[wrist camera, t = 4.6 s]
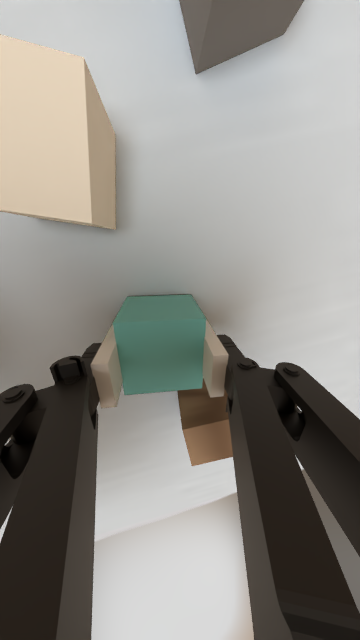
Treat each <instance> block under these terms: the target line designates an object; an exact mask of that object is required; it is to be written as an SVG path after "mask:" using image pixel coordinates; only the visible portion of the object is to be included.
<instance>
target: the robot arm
mask: <svg viewBox="0 0 360 640" xmlns="http://www.w3.org/2000/svg"><path fill="white" fill-rule="evenodd" d="M50 370H51V373H52V376H53V379H54V381H55V385H54V386H51V387H48V388H45V389H41V390H37V391H35V389H34V387H33V386H32V385H30V384H23V385H18V386H14V387H12V388H10V389H8V390H6V391H4V392H2V393H1V394H0V529H1V527H2V525H3V523H4V521H5V519H6V517H7V516H8V514H9V512H10V510H11V508H12V506H13V508H12V510H11V513H10V516H9V519H8V522H7V525H6V528H5V531H4V534H3V537H2V540H1V543H0V640H91V625H92V594H93V593H92V591H93V563H94V531H95V500H96V468H97V437H98V412H97V409H96V408H97V406H98V403H99V401H100V405H101V408H109V407H116V406H117V402H118V398H119V394H120V390H121V386H122V382H123V380H122V374H121V368H120V362H119V356H118V350H117V345H116V340H115V334H114V328H113V324H112V326H111V327H110V329H109V331H108V333H107V335H106V337H105V339H104V341H103V342H102V343H93V344H92V345H91V346H89V347H88V348H87V349H86V351H85V352H84V354H83V355H82V357H80V356H69V357H65V358H62V359H60V360H58V361H56V362H55V363H54V364H52V366H51V367H50ZM202 375H203V378H204V381H205V384H206V386H207V389H208V392H209V395H210V398H211V397H221V396H224V389H225V390H226V392H227V395H228V396H227V404H226V411H225V412H227V413H228V417H229V426H230V434H231V443H232V451H233V460H234V468H235V477H236V485H237V494H238V502H239V511H240V519H241V528H242V536H243V545H244V553H245V561H246V570H247V579H248V587H249V596H250V604H251V613H252V622H253V631H254V640H360V613H359V611H358V609H357V607H356V604H355V602H354V599H353V597H352V594H351V592H350V590H349V587H348V585H347V582H346V580H345V578H344V575H343V572H342V570H341V567H340V565H339V563H338V560H337V557H336V555H335V553H334V550H333V548H332V545H331V543H330V540H329V538H328V535H327V533H326V530H325V528H324V525H323V523H322V521H321V518H320V516H319V513H318V511H317V508H316V506H315V503H314V501H313V498H312V496H311V494H310V491H309V488H308V486H307V484H306V481H305V479H304V476H303V474H302V471H301V469H300V466H299V464H298V461H297V459H296V457H297V458H298V460H299V461H300V463H301V465H302V466H303V468H304V469H305V471H306V473H307V474H308V476H309V477H310V479H311V480H312V482H313V483H314V485H315V487H316V488H317V490H318V491H319V493H320V495H321V496H322V498H323V499H324V501H325V502H326V504H327V506H328V507H329V509H330V511H331V512H332V514H333V515H334V517H335V518H336V520H337V522H338V523H339V525H340V526H341V528H342V530H343V531H344V533H345V534H346V536H347V537H348V539H349V540H350V542H351V544H352V545H353V547H354V549H355V550H356V552H357V553H358V555H359V556H360V419H359V418H357V417H356V416H355V415H354V414H353V413H352V412H351V411H350V410H348V409H347V408H346V407H345V406H344V405H343V404H342V403H341V402H340V401H338V400H337V399H336V398H335V397H334V396H333V395H332V394H331V393H330V392H328V391H327V390H326V389H325V388H324V387H323V386H322V385H321V384H319V383H318V382H317V381H316V380H315V379H314V378H313V377H312V376H311V375H309V374H308V373H307V372H306V371H305V370H304V369H302V368H301V367H299V366H297V365H295V364H292V363H287V362H282V363H278V364H277V365H276V369H275V370H273V369H266V368H260V367H259V365H258V364H257V363H256V362H255V361H253V360H251V359H249V358H245V357H244V356H243V354H242V353H241V352H240V350H239V349H238V348H237V347H236V345H235V344H234V342H233V341H232V340H231V338H229V337H228V336H226V335H216V334H215V332H214V330H213V329H212V327H211V326H210V324H209V322H208V321H207V319H206V331H205V337H204V353H203V372H202ZM297 406H298V407H299V408H300V409H301V410H302V412H301V411H300V410H299V409H298V407H297ZM9 438H11V440H10V441H9V443H8V444H7V445H6V446H5V443H6V442H7V441H8V439H9ZM295 455H296V456H295ZM13 504H14V505H13Z"/></svg>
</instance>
